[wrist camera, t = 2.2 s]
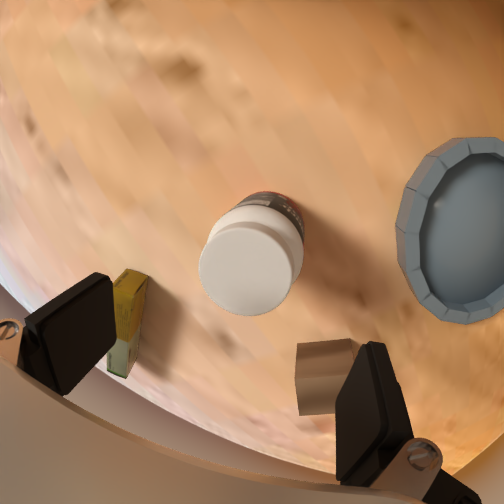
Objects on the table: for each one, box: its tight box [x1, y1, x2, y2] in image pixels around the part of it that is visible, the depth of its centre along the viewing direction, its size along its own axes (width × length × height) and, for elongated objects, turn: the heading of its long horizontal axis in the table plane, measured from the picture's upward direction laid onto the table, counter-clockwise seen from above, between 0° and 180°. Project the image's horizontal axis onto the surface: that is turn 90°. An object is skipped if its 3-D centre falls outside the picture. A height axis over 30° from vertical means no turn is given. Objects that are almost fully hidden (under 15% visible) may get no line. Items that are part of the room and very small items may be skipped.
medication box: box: [107, 269, 148, 379], centre depth 27 cm, size 12×3×4 cm, turn 161°
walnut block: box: [295, 338, 354, 416], centre depth 25 cm, size 5×5×5 cm
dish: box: [395, 137, 504, 325], centre depth 19 cm, size 16×16×2 cm
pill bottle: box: [199, 191, 304, 316], centre depth 19 cm, size 6×6×10 cm
